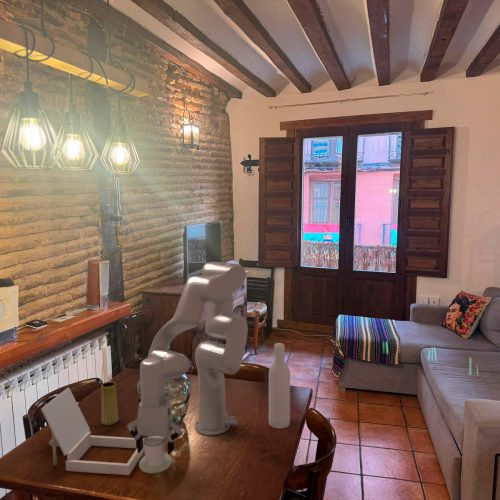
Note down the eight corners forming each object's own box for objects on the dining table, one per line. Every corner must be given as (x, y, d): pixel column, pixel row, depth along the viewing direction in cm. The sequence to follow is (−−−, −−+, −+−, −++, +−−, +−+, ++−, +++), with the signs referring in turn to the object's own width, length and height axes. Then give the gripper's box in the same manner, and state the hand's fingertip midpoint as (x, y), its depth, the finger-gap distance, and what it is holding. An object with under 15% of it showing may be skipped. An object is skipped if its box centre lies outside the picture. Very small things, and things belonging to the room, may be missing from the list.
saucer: (175, 455, 140) (175, 453, 140) (166, 474, 130) (166, 472, 130) (146, 453, 141) (145, 451, 141) (134, 472, 131) (134, 469, 131)
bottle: (279, 431, 154) (279, 349, 151) (264, 423, 160) (263, 344, 157) (294, 423, 159) (295, 344, 156) (279, 415, 165) (279, 339, 162)
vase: (121, 417, 165) (119, 381, 163) (114, 425, 159) (112, 388, 157) (105, 416, 166) (104, 380, 164) (98, 424, 160) (96, 387, 158)
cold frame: (146, 447, 145) (144, 390, 142) (129, 475, 130) (126, 412, 128) (70, 442, 148) (67, 387, 146) (44, 469, 133) (40, 408, 131)
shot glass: (170, 457, 138) (169, 436, 137) (159, 469, 131) (158, 447, 130) (151, 453, 140) (150, 432, 139) (139, 465, 133) (138, 444, 132)
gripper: (184, 394, 136) (185, 446, 138) (131, 392, 138) (133, 443, 140) (177, 405, 128) (179, 460, 130) (121, 402, 130) (123, 456, 132)
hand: (155, 451), depth 135 cm, fingers open, 9 cm apart
